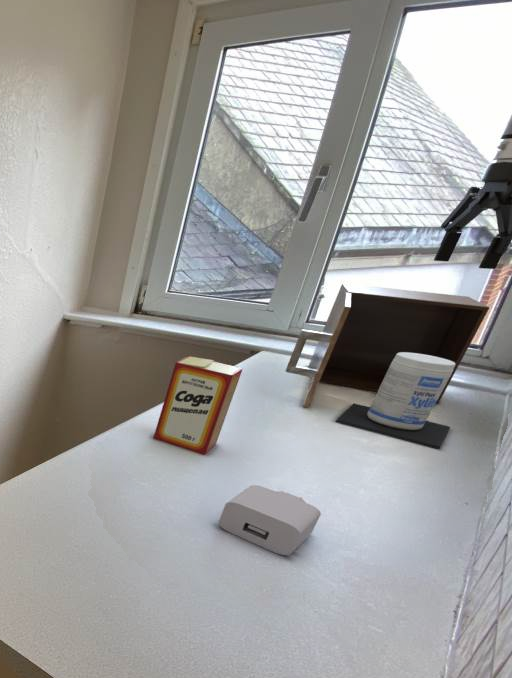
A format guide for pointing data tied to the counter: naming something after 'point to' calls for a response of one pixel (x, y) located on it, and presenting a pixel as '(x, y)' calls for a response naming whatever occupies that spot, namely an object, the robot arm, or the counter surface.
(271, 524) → the charger
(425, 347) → the cupboard
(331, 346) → the cupboard door
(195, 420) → the baking soda box
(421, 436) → the mat
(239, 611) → the counter surface
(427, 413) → the supplement tub
